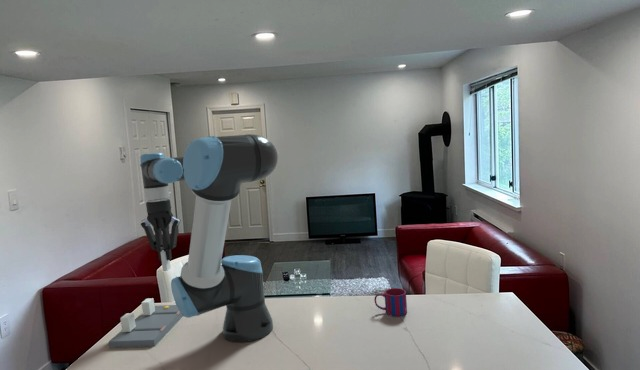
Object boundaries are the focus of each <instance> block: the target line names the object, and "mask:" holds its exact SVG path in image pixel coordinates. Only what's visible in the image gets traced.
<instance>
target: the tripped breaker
mask: <svg viewBox="0 0 640 370" xmlns="http://www.w3.org/2000/svg"><path fill="white" fill-rule="evenodd" d="M155 306H156V305H155V300H154V298H153V297H152V298H149V297H148V298H145V299H144V300H143V301H142V302H141V310H142V313H143V315H151V314H152V313H153V312H154V311H155Z"/></svg>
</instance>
